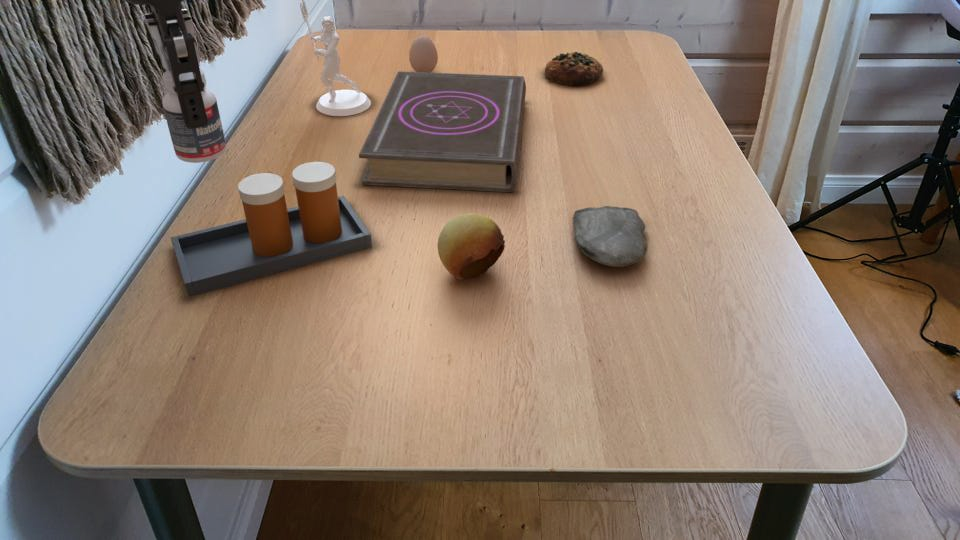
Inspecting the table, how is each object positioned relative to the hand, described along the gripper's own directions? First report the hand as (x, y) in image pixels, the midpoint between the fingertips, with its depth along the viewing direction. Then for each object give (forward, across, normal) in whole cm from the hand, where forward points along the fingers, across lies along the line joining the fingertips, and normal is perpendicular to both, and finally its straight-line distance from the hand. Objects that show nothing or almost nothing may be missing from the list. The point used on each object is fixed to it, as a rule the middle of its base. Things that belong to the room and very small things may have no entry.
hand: (192, 114), depth 77 cm
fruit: (+21, +13, +26) cm, 36 cm away
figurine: (+21, -41, +28) cm, 54 cm away
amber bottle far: (+20, -3, +12) cm, 24 cm away
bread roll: (+21, -34, +71) cm, 81 cm away
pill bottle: (+5, 0, 0) cm, 5 cm away
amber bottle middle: (+20, -3, +6) cm, 21 cm away
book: (+21, -20, +39) cm, 48 cm away
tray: (+21, -3, +6) cm, 22 cm away
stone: (+21, +15, +45) cm, 52 cm away
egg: (+21, -47, +46) cm, 69 cm away
